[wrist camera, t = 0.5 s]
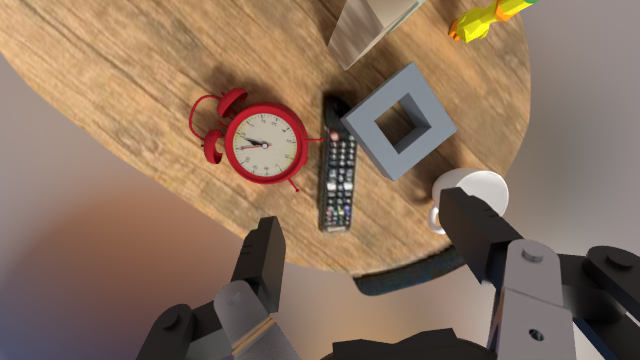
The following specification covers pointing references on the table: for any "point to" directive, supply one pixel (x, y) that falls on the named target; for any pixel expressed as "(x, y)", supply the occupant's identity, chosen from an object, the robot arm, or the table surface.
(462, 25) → the toy figure
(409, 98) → the slate collar
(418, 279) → the table surface
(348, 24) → the long beech stick
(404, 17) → the pale green block
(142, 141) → the table surface
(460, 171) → the cup
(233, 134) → the alarm clock
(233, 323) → the robot arm
